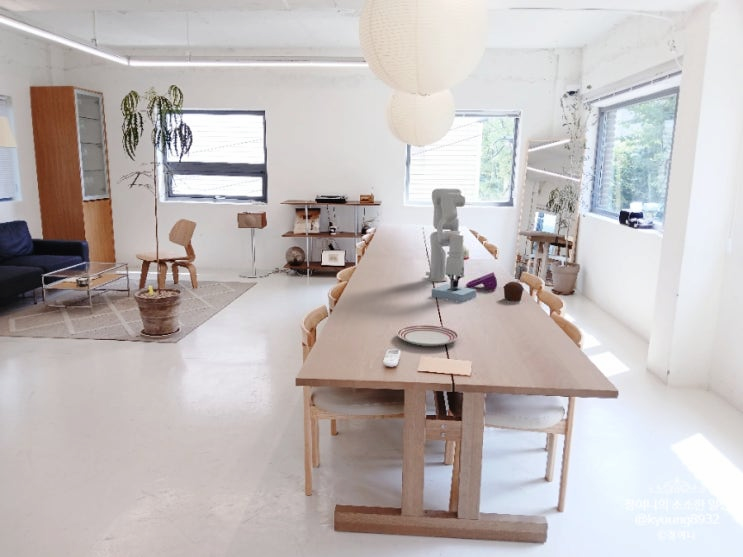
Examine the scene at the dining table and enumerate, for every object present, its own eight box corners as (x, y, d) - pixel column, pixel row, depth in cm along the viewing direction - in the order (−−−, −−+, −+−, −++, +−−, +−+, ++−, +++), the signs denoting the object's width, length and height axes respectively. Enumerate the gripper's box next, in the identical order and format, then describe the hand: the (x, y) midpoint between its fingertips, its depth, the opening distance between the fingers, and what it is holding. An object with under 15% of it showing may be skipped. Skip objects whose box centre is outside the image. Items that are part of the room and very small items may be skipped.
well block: (431, 296, 318) (431, 288, 317) (446, 291, 330) (446, 284, 329) (462, 302, 306) (462, 294, 305) (475, 297, 318) (476, 289, 317)
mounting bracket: (470, 298, 338) (499, 288, 333) (465, 286, 337) (493, 275, 332) (471, 294, 347) (498, 284, 342) (466, 282, 346) (493, 272, 341)
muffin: (512, 303, 307) (513, 285, 305) (498, 298, 316) (499, 281, 314) (527, 300, 314) (528, 283, 311) (512, 295, 323) (514, 279, 320)
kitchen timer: (471, 257, 436) (472, 239, 432) (464, 260, 424) (465, 241, 421) (455, 255, 443) (456, 237, 439) (448, 258, 431) (449, 239, 428)
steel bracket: (447, 297, 317) (449, 279, 315) (452, 295, 321) (453, 278, 319) (453, 298, 314) (455, 280, 313) (458, 297, 318) (459, 280, 316)
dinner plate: (397, 329, 260) (397, 322, 260) (456, 331, 258) (456, 324, 257) (394, 349, 234) (395, 342, 233) (460, 352, 231) (460, 344, 231)
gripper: (440, 254, 315) (439, 285, 319) (464, 257, 305) (462, 289, 309) (447, 252, 320) (445, 283, 324) (471, 255, 311) (469, 287, 315)
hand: (454, 286), depth 317 cm, fingers closed on steel bracket
